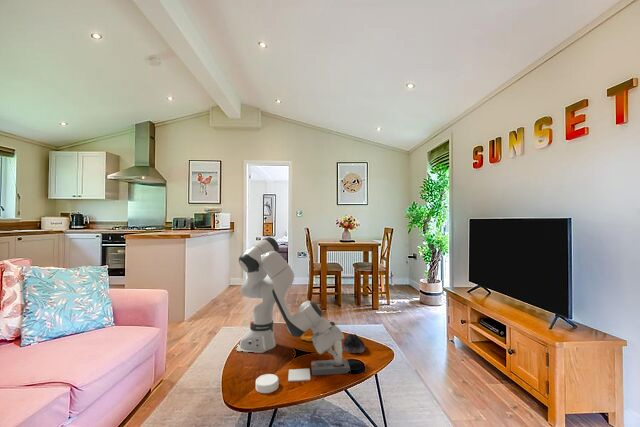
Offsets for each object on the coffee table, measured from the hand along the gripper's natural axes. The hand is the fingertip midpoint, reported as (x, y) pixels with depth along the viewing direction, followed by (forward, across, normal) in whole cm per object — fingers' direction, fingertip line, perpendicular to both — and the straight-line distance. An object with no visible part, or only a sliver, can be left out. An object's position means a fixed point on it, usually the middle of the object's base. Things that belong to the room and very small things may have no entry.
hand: (339, 354), depth 141 cm
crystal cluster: (+2, +24, +9) cm, 26 cm away
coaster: (-8, -30, +19) cm, 36 cm away
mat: (-4, -15, +14) cm, 21 cm away
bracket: (-19, +24, +30) cm, 43 cm away
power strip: (+2, -2, +8) cm, 8 cm away
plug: (+5, 0, +6) cm, 7 cm away
